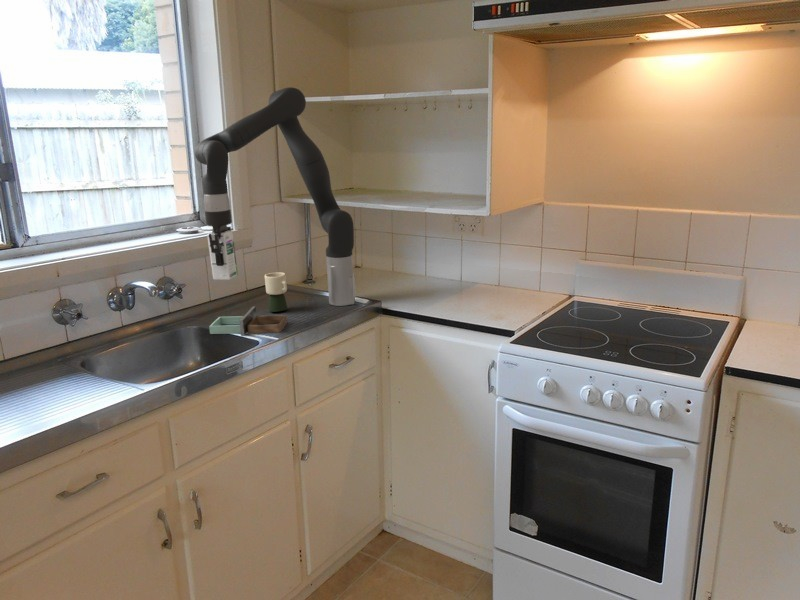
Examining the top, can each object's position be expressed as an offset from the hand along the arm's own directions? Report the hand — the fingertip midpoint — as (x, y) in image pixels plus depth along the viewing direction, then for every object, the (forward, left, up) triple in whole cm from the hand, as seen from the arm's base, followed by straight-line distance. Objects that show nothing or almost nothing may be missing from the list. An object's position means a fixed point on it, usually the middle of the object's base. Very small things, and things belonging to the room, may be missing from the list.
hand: (223, 263), depth 193 cm
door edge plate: (-6, 0, -21) cm, 22 cm away
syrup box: (0, 0, -5) cm, 5 cm away
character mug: (-11, -18, -21) cm, 30 cm away
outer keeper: (0, 0, -21) cm, 21 cm away
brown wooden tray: (-12, 0, -21) cm, 24 cm away
